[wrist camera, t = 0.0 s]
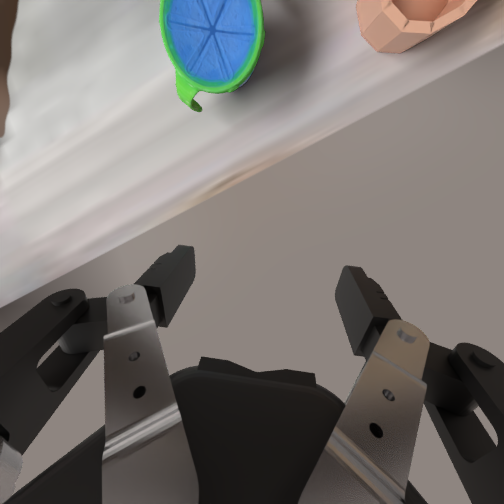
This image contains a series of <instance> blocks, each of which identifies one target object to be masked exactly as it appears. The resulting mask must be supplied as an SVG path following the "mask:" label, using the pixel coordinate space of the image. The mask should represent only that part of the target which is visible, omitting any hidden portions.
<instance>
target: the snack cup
mask: <svg viewBox="0 0 504 504" xmlns="http://www.w3.org/2000/svg"><path fill="white" fill-rule="evenodd" d="M159 22H160V27H161V34H162V38H163V42H164V45H165V48H166V51H167V53H168V56H169V58H170V60H171V62H172V63H173V65H174V67H175V69H176V87H177V93H178V96H179V98H180V99H181V100H182V101H183V102H184V103H185V104H186V105H188V106H189V107H190V108H191V109H192V110H194V111H196V112H201V111H202V107H201V106H200V105H199V104H198V103H197V102H196V101H195V100H194V99H193V98H194V97H195V95H196V94H197V93H198V92H199V91H204V92H208V93H215V94H219V93H225V92H229V93H230V92H233V91H234V90H236V89H238V87H241V86H242V85H243V84H245V83H246V82H247V80H248V79H249V78H250V76H251V75H252V73H253V71H254V68H255V66H256V64H257V61H258V59H259V56H260V52H261V49H262V47H263V45H264V39H265V30H264V19H263V11H262V5H261V1H260V0H160V15H159Z"/></svg>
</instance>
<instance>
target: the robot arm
mask: <svg viewBox="0 0 504 504" xmlns="http://www.w3.org/2000/svg"><path fill="white" fill-rule="evenodd" d="M194 278H195V254H194V248H193V247H192V246H185V245H178V246H177V247H176V248H175V249H174V250H173V252H172V253H166V254H164V255H162V256H160V257H159V258H158V259H157V260H156V261H155V262H154V264H152V265H151V266H150V268H149V269H148V270H147V271H146V272H145V273H144V274H143V275H142V276H141V277H140V278H139V279H138V280H137V281H136V282H135V283H134V284H131V285H125V286H122V287H119V288H117V289H115V290H114V291H112V292H111V293H110V294H109V295H108V297H101V298H91V299H87V297H86V295H85V293H84V291H82V290H80V289H67V290H62V291H59V292H56V293H54V294H52V295H50V296H48V297H47V298H45V299H44V300H42V301H41V302H40V303H39V304H37V305H36V306H35V307H33V308H32V309H31V310H30V311H28V312H27V313H26V314H24V315H23V316H22V317H20V318H19V319H18V320H17V321H15V322H14V323H13V324H11V325H10V326H9V327H7V328H6V329H5V330H4V331H2V332H1V333H0V504H428V503H427V502H426V501H425V500H424V498H423V497H422V496H421V495H420V494H419V492H418V491H417V490H416V489H415V487H414V486H413V485H412V484H411V483H410V481H409V480H408V476H409V471H410V466H411V461H412V456H413V452H414V447H415V442H416V437H417V432H418V428H419V423H420V418H421V412H422V408H423V403H424V405H425V407H426V409H427V411H428V413H429V415H430V417H431V419H432V421H433V423H434V426H435V428H436V430H437V432H438V434H439V436H440V438H441V440H442V442H443V444H444V446H445V448H446V450H447V453H448V455H449V457H450V459H451V461H452V463H453V465H454V467H455V469H456V471H457V473H458V475H459V478H460V480H461V482H462V484H463V486H464V488H465V490H466V492H467V494H468V496H469V498H470V500H471V503H472V504H504V363H503V362H502V361H501V360H499V359H498V358H497V357H496V356H494V355H493V354H491V353H490V352H488V351H487V350H485V349H482V348H481V347H478V346H476V345H473V344H470V343H459V344H457V346H456V347H455V348H454V349H453V350H450V349H448V348H445V347H442V346H439V345H436V344H434V343H431V342H429V340H428V338H427V336H426V335H425V334H424V333H423V332H422V331H421V330H420V329H419V328H417V327H416V326H414V325H413V324H411V323H408V322H406V321H403V320H402V319H401V317H400V316H399V314H398V313H397V311H396V310H395V308H394V307H393V305H392V304H391V302H390V301H389V300H388V298H387V296H386V295H385V294H384V292H383V290H382V289H381V287H380V285H379V284H377V283H376V282H375V281H374V280H373V279H371V278H368V277H367V276H366V274H365V272H364V271H363V269H362V268H361V267H355V266H345V267H344V268H343V270H342V273H341V276H340V279H339V282H338V285H337V287H336V291H335V300H336V303H337V306H338V309H339V312H340V315H341V318H342V321H343V324H344V327H345V330H346V333H347V336H348V339H349V342H350V345H351V348H352V350H353V353H354V355H356V356H363V357H365V359H366V362H365V364H364V366H363V368H362V370H361V372H360V374H359V376H358V377H357V379H356V381H355V384H354V385H353V387H352V389H351V391H350V393H349V395H348V397H347V399H346V401H345V402H344V403H343V402H342V401H341V400H340V399H339V398H338V397H337V396H336V395H334V394H333V393H332V392H330V391H329V390H327V389H326V388H324V387H322V386H320V385H318V384H316V379H315V374H314V373H308V372H301V371H294V370H288V369H284V370H275V371H265V372H254V371H252V370H250V369H247V368H245V367H243V366H240V365H238V364H235V363H233V362H231V361H228V360H221V359H215V358H208V357H201V359H200V362H199V365H198V366H193V367H188V368H185V369H182V370H180V371H177V372H176V373H173V374H172V375H170V376H169V373H168V369H167V365H166V362H165V358H164V354H163V350H162V347H161V343H160V340H159V336H158V332H157V328H158V326H160V327H168V325H169V323H170V322H171V320H172V318H173V316H174V315H175V313H176V311H177V309H178V308H179V306H180V304H181V302H182V301H183V299H184V297H185V295H186V293H187V292H188V290H189V288H190V286H191V285H192V283H193V281H194ZM56 341H57V342H58V343H59V346H58V347H57V348H56V349H55V350H54V351H53V352H52V353H51V354H50V355H49V356H48V358H47V359H46V360H45V361H44V362H43V363H42V364H41V365H40V366H39V367H38V368H37V364H38V362H39V360H40V359H41V357H42V356H43V355H44V354H45V353H46V352H47V351H48V350H49V349H50V348H51V346H52V345H54V343H55V342H56ZM100 350H104V388H105V389H104V390H105V425H104V426H102V427H101V428H100V429H98V430H97V431H96V432H94V433H93V434H92V435H90V436H89V437H88V438H87V439H85V440H84V441H83V442H81V443H80V444H79V445H77V446H76V447H75V448H74V449H72V450H71V451H70V452H68V453H67V454H66V455H64V456H63V457H62V458H60V459H59V460H58V461H57V462H55V463H54V464H53V465H51V466H50V467H49V468H47V469H46V470H45V471H43V472H42V473H41V474H39V475H38V476H37V477H36V478H34V479H33V480H32V481H30V482H29V483H28V484H26V485H25V486H24V487H22V488H21V489H20V490H18V491H17V492H16V493H15V494H13V492H14V490H15V482H16V480H17V478H18V476H19V474H20V471H21V468H22V463H23V460H22V455H23V454H24V452H25V451H26V450H27V448H28V447H29V445H30V444H31V443H32V441H33V440H34V439H35V437H36V436H37V435H38V433H39V432H40V431H41V429H42V428H43V427H44V425H45V424H46V422H47V421H48V420H49V419H50V417H51V416H52V414H53V413H54V412H55V410H56V409H57V408H58V406H59V405H60V404H61V402H62V401H63V400H64V398H65V397H66V396H67V394H68V393H69V392H70V390H71V388H72V387H73V386H74V385H75V383H76V382H77V380H78V379H79V378H80V377H81V375H82V374H83V373H84V371H85V370H86V369H87V367H88V366H89V364H90V363H91V362H92V360H93V359H94V358H95V356H96V355H97V353H98V352H99V351H100ZM478 406H479V407H480V408H481V410H482V411H483V412H484V414H485V415H486V417H487V418H488V420H489V421H490V423H491V424H492V426H493V427H494V429H495V431H496V433H497V436H498V445H497V447H496V445H495V444H494V442H493V440H492V439H491V437H490V436H489V434H488V433H487V431H486V430H485V428H484V427H483V425H482V423H481V422H480V420H479V419H478V417H477V416H476V414H475V413H474V411H473V410H474V409H476V408H477V407H478ZM12 494H13V495H12Z"/></svg>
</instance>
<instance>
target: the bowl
mask: <svg viewBox="0 0 504 504" xmlns="http://www.w3.org/2000/svg"><path fill="white" fill-rule="evenodd" d="M476 1H477V0H357V4H356V10H357V15H358V20H359V26H360V31H361V36H362V37H363V38H364V39H365V40H366V41H367V42H368V43H369V44H370V45H371V46H372V47H373V48H374V49H375V50H376V51H377V52H387V53H402V52H404V51H406V50H407V49H409V48H411V47H413V46H415V45H417V44H418V43H420V42H422V41H424V40H426V39H427V38H429V37H430V36H432V35H434V34H435V33H437V32H438V31H440V30H442V29H443V28H445V27H447V26H448V25H450V24H451V23H453V22H455V21H456V20H458V19H459V18H461V17H463V16H464V15H465V14H466V13H467V12H468V10H469V9H470V8H471V7H472V6H473V4H474V3H475V2H476Z"/></svg>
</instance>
